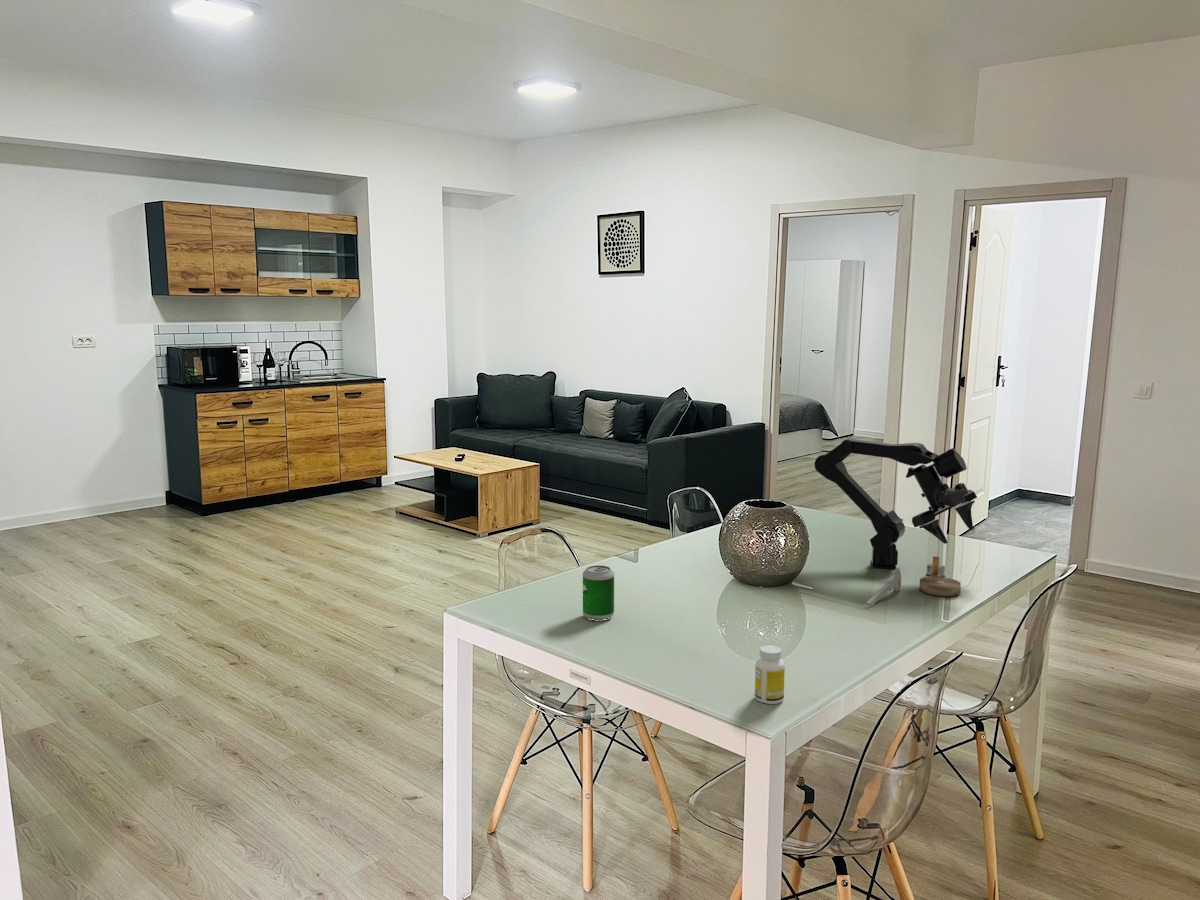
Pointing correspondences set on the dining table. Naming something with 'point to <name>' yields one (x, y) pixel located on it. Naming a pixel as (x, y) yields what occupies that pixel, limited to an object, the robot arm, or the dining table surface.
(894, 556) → the robot arm
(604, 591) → the soda can
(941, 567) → the cover
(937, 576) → the turntable
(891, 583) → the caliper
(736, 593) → the dining table surface
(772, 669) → the supplement bottle
